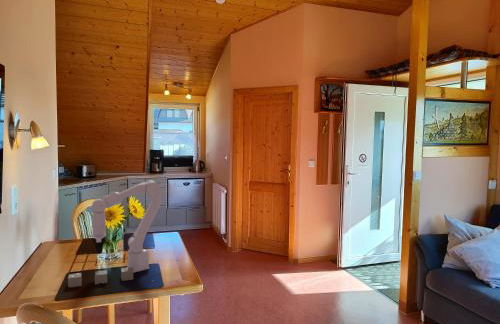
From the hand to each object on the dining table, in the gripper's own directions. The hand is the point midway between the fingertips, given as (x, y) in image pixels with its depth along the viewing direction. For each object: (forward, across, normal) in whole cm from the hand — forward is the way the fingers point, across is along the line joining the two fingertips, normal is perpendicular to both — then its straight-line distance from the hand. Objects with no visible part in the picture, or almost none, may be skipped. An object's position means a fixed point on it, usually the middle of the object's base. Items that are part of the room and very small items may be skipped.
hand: (99, 253), depth 170 cm
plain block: (+10, +10, +1) cm, 14 cm away
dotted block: (+10, +11, -10) cm, 17 cm away
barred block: (+10, +10, +12) cm, 18 cm away
